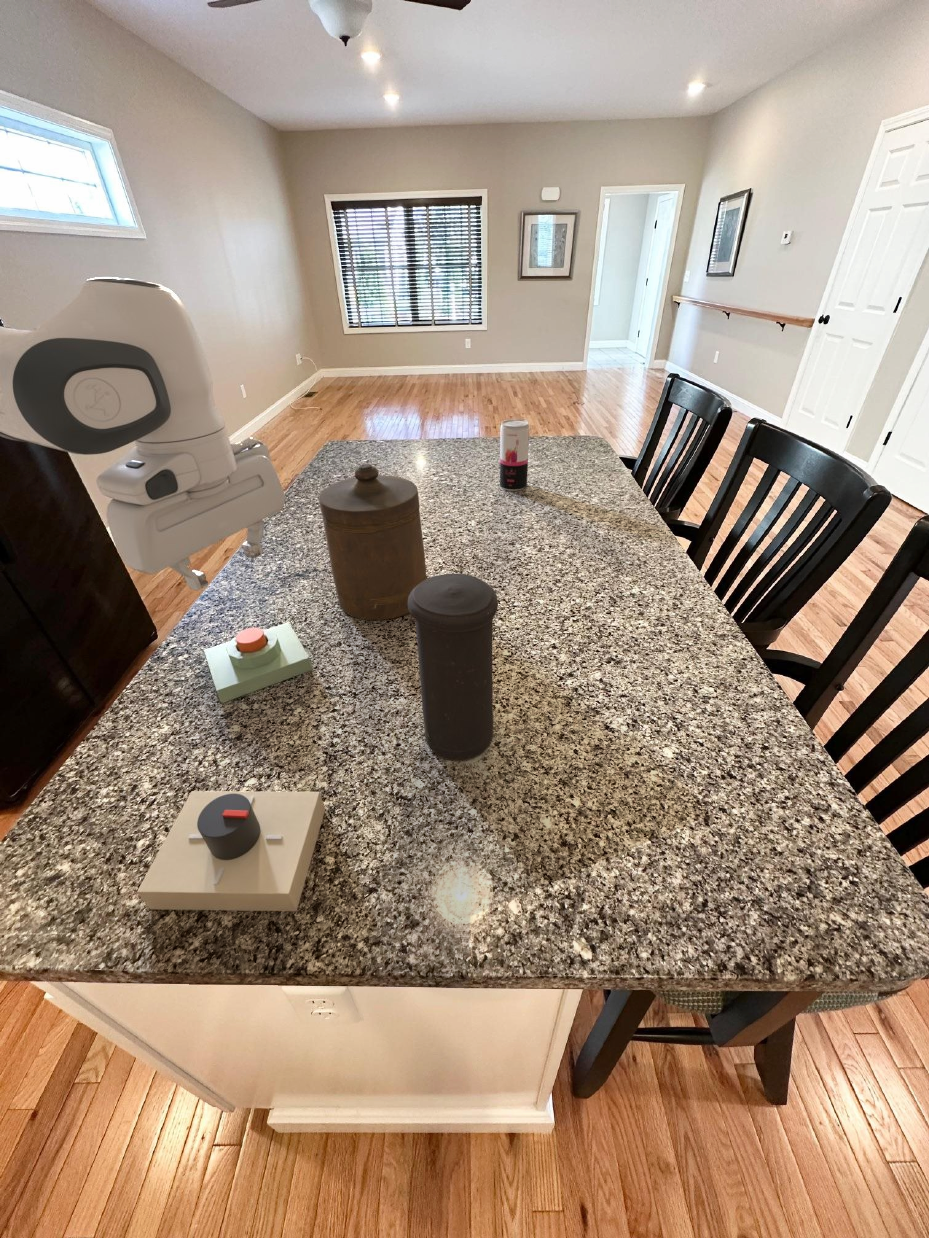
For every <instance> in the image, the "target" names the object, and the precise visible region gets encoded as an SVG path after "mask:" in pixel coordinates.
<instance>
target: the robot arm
mask: <svg viewBox="0 0 929 1238" xmlns="http://www.w3.org/2000/svg"><path fill="white" fill-rule="evenodd" d="M201 343H202V342H201V340H200V338H199V335H198V333H197V330H196V328H195V325H194V323H193V320H192V318H191V315H190V314H189V312H188V310H187V308H186V306H185V305H184V303H183V302H182V300H181V298H180V297H179V296H178V295H177V294H176V292H174V291H172V290H171V289H169V288H168V287H166V286H163V285H162V284H159V283H156V282H153V281H152V282H150V281H146V280H140V279H134V278H133V279H132V278H119V277H111V276H100V277H91V278H90V279H87V280H84V281H83V282H82V284H81V288H80V290H79V292H78V293H77V294H76V295H75V296H74V298H73V299H72V300H70V302H69V303H68V304H67V305H66V306H65V307H63V308H62V310H60V311H58V312H57V313H56V314H55V315H53V316H52V317H50V318H49V319H48V320H45V322H42V323H40V324H39V325H36V326H35V327H33V330H27V329H18V328H13V327H8V326H3V325H0V437H1V438H4V439H7V440H11V441H16V442H21V443H31V444H36V445H39V446H43V447H46V448H50V449H54V450H58V451H62V452H66V453H70V454H73V455H84V456H88V455H89V456H90V455H102V454H107V453H110V452H112V451H116V450H118V449H121V448H123V447H124V446H127V445H129V444H131V443H133V442H134V444H135V446H133V447H132V448H131V449H130V451H128V452H127V453H126V454H124V455H123V456H122V457H121V458H120V459H118V460H117V461H116V462H115V463H113V464H112V465H111V466H109V467H108V468H106V469H105V470H104V471H103V472H101V473H100V474H99V475H98V476H97V477H96V480H95V483H96V486H97V488H98V490H99V491H100V492H101V494H102V495H103V496H105V497H108V498H110V499H111V500H110V501H109V503H108V504H107V507H106V520H107V524H108V528H109V531H110V534H111V537H112V540H113V543H114V545H115V547H116V550H117V553H118V554H119V556H120V559H121V560H122V562H123V564H125V565H126V567H128V568H130V569H132V570H134V571H137V572H139V573H143V574H147V575H155V574H158V573H160V572H162V571H164V570H166V569H168V568H171V569H172V570H174V571H175V572H176V573H178V574H180V575H181V576H183V577H184V580H185V583H186V585H187V587H188V588H189V589H190V590H193V591H195V592H198V591H200V590H202V589H203V588H205V587H207V586H208V585H209V582H208V580H207V576H206V574H205V572H203V571H199V570H197V569H193V570H192V569H190V568H189V566H191V565H192V562H191V559H190V557H191V556H193V555H195V554H197V553H199V552H202V551H203V550H205V549H207V548H209V547H211V546H214V545H215V544H217V543H219V542H221V541H223V540H225V539H227V538H229V537H231V536H234V535H235V534H238V533H239V532H241V531H243V530H245V529H247V531H246V541H245V542H244V543H241V546H242V549H243V550H244V551H243V554H244V555H245V557H246V558H247V559H249V558H250V559H253V560H255V559H256V558H258V557H259V556H261V555H263V554H264V550H263V547H262V543H261V542H262V539H263V534H264V529H265V524H264V521H263V520H265V519H267V518H269V517H270V516H273V515H275V514H277V513H278V512H281V511H283V509H284V507H285V503H286V495H285V492H284V489H283V486H282V484H281V480H280V478H279V475H278V473H277V470H276V468H275V466H274V464H273V462H272V459H271V454H270V450H269V448H268V446H267V445H266V444H265V443H264V442H263V441H262V440H260V439H256V438H255V437H248V438H245V439H243V440H241V441H238V442H233V443H231V441H230V437H229V434H228V430H227V426H226V423H225V420H224V418H223V416H222V415H221V413H220V411H219V410H218V408H217V405H216V403H215V399H214V394H213V378H212V375H211V372H210V368H209V365H208V362H207V358H206V355H205V351H204V349H203V346H202V344H201Z"/></svg>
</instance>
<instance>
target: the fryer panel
mask: <svg viewBox="0 0 929 1238" xmlns="http://www.w3.org/2000/svg"><path fill="white" fill-rule="evenodd" d="M232 793H236V794H241V795H243V796H245V797H246V798H247V799H248V800H249V802H250V804H251V806H252V809H253V811H254V813H255V815H256V818H257V820H258V822H259V825H260V835H259V838H258V840H257V842H256V844H255V845H254V846H253V847H252V848H251V849H250V850H249V851H248V852H247V853H245V854H244V855H242V856H240V857H238V858H235V859H231V860H221V859H218V858H216V857H214V856H213V855H212V853H211V852H210V850H209V848H208V846H207V844H206V843H205V841H204V839H203V837H202V836H201V834H200V832H199V830H198V827H197V822H198V818H199V815H200V813H201V812H202V810H203V809H204V808H205V807H206V805H208V804H209V803H210V802H211V801H213V800H214V799H216V798H218V797H220V796H223V795H226V794H232ZM325 812H326V808H325V804H324V800H323V798H322V795H321V791H254V790H253V791H250V790H249V791H245V790H243V791H239V790H238V791H237V790H236V791H235V790H234V791H233V790H232V791H231V790H228V791H226V790H225V791H223V790H219V791H218V790H217V791H216V790H215V791H214V790H212V791H211V790H209V791H208V790H205V791H204V790H192V791H191V792H190V793H189V795H188V797H187V799H186V801H185V802H184V804H183V806H182V808H181V810H180V811H179V814H178V816H177V817H176V819H175V821H174V822H173V825H172V826H171V828H170V830H169V832H168V834H167V835H166V837H165V839H164V841H163V843H162V845H161V847H160V848H159V850H158V851H157V854H156V856H155V858H154V859H153V861H152V863H151V865H150V867H149V868H148V870H147V872H146V874H145V876H144V878H143V879H142V881H141V883H140V886H139V887H138V888H137V891H136V894H137V895H139V897H140V898H141V899H142V901H143V902H144V903H145V905H146V906H147V907H148V908H149V910H163V911H164V910H165V911H167V910H168V911H169V910H170V911H171V910H172V911H237V912H238V911H239V912H240V911H243V912H244V911H245V912H246V911H247V912H251V911H252V912H297V911H298V908H299V904H300V901H301V897H302V893H303V890H304V886H305V884H306V879H307V876H308V872H309V869H310V865H311V862H312V859H313V855H314V851H315V847H316V844H317V840H318V837H319V834H320V830H321V826H322V823H323V819H324V816H325Z"/></svg>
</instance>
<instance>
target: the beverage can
mask: <svg viewBox="0 0 929 1238" xmlns="http://www.w3.org/2000/svg"><path fill="white" fill-rule="evenodd" d="M500 424H501V425H500V430H499V431H500V433H499V434H500V435H499V436H500V437H499V440H500V441H499V444H500V447H499V452H500V453H499V486H500V487H501V489H502V490H505V491H508V492H509V491H510V492H519V491H522V490H524V489H525V488H526V487H527V486H528V468H529V467H528V466H529V444H530V422H529V421H528V420H526V419H519V418H515V419H514V418H513V419H511V418H510V419H505V420H502V421H501V422H500Z"/></svg>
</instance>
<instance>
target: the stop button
mask: <svg viewBox="0 0 929 1238" xmlns="http://www.w3.org/2000/svg"><path fill="white" fill-rule="evenodd" d="M262 629H263V628H260V627H248V628H245V629H242V630H241V631H239V632H238V633H236V635H235V637H236V638H235V637H234V638H235V639H236V642H237V645H238V648H239V650H240V651H241V652H242V653H252V652H255V651H258V650H261V649H262V648H263V647H265V646H266V643H267V641H266V638H265V635H264V632H263V630H262Z"/></svg>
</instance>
